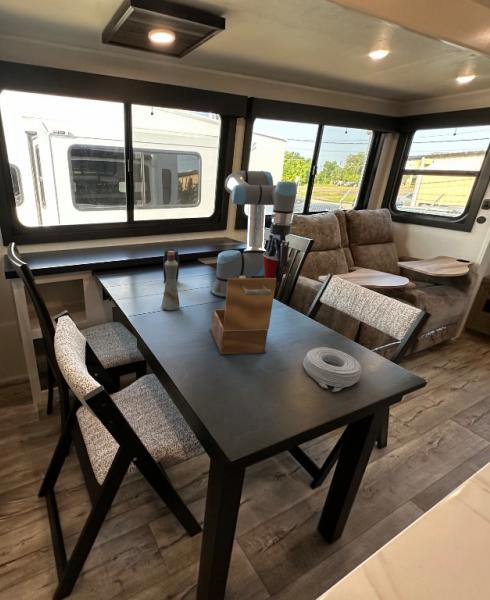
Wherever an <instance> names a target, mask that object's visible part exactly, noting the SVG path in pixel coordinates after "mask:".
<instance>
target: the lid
mask: <svg viewBox="0 0 490 600" xmlns="http://www.w3.org/2000/svg"><path fill="white" fill-rule="evenodd" d="M276 286H277V285H276V278H264V277H241V278H240V277H238V278H228V282H227V293H226V298H225V305H224V309H225V314H224V325H223V330H224V331H225V330H265V329H268V330H269V329H270V323H271V316H272V310H273V304H274V297H275V291H276Z"/></svg>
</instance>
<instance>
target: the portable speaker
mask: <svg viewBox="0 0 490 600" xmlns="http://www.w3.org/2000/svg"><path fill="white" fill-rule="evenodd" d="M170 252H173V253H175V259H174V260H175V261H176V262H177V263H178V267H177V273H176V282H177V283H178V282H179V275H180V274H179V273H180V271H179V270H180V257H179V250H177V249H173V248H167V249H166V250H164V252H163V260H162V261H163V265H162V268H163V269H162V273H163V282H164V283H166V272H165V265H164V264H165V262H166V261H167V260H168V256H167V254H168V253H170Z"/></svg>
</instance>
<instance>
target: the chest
mask: <svg viewBox="0 0 490 600" xmlns="http://www.w3.org/2000/svg"><path fill="white" fill-rule="evenodd" d="M224 314H225V308H217V309H215V308H213V309H212V315H211V329H210V332H211V333H212V336H213V338H214V341H215V344H216V346H217V348H218V351H219V353H220V355H243V354H245V355H246V354H265V351H266V346H267V340H268V333H269V329H265V330H225V331H224V330H223V325H224Z"/></svg>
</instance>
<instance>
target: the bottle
mask: <svg viewBox="0 0 490 600" xmlns="http://www.w3.org/2000/svg"><path fill="white" fill-rule="evenodd" d="M167 256H168V260H167V261H166V262H165V264H164V265H165V272H166V282H164V290H163V296H162V303H161V308H162V309H163V310H166V311H171V312H172V311H178V309H179V308H180V297H179V291H178V290H179V289H178V281H177V282H176V273H177V267H178V263H177V262H176V261H175V260H174V259H175V253H173V252H170V253H168V254H167Z"/></svg>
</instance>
